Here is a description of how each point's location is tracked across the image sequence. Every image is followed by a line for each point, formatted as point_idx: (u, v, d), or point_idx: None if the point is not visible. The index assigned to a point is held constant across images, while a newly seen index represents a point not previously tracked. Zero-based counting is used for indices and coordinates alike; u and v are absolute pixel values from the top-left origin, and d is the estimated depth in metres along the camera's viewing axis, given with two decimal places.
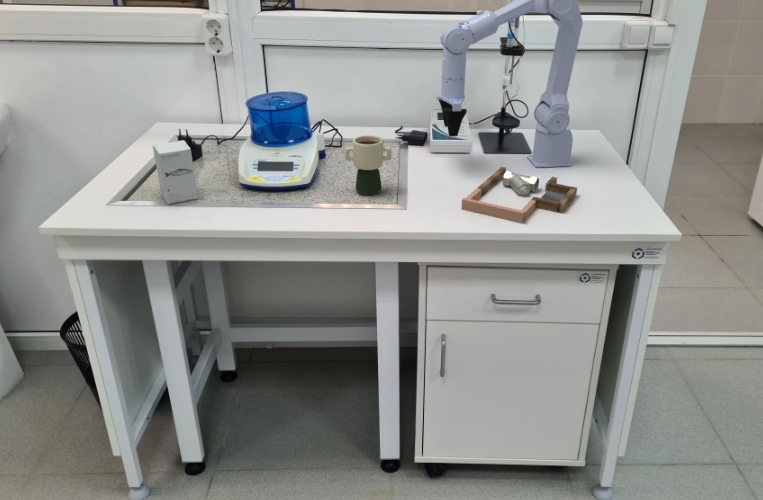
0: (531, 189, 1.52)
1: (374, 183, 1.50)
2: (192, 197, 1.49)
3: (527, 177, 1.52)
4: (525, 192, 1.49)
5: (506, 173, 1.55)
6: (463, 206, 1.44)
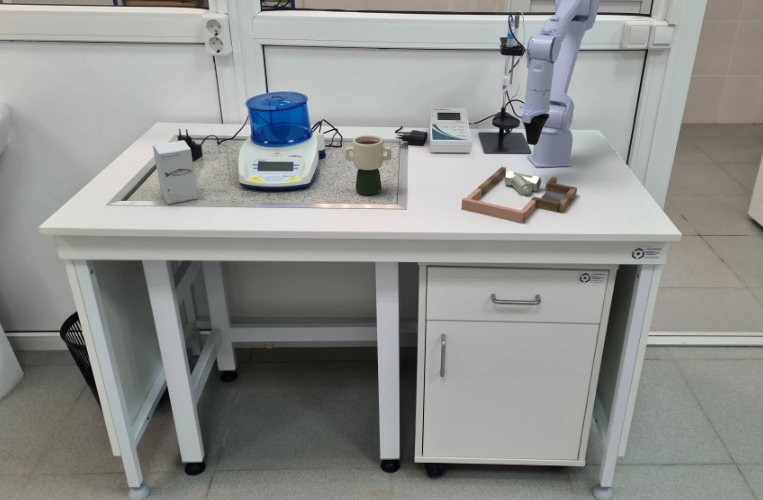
0: (533, 189, 1.52)
1: (374, 183, 1.50)
2: (192, 197, 1.49)
3: (529, 177, 1.53)
4: (527, 191, 1.50)
5: (508, 172, 1.55)
6: (463, 206, 1.44)
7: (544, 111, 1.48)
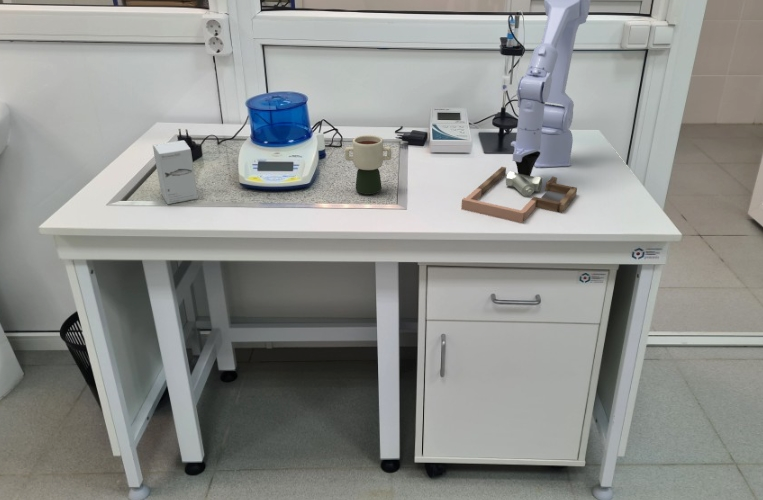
0: (535, 189, 1.51)
1: (374, 183, 1.50)
2: (192, 197, 1.49)
3: (530, 177, 1.52)
4: (530, 192, 1.49)
5: (509, 173, 1.54)
6: (463, 206, 1.44)
7: (535, 150, 1.50)
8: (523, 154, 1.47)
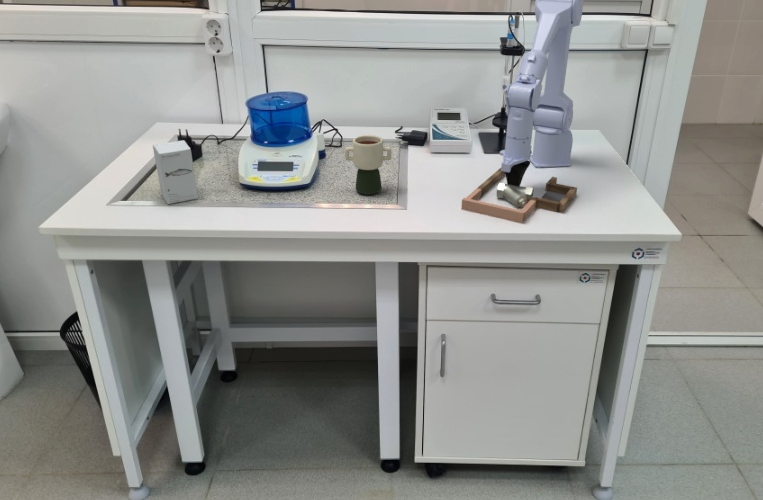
0: (528, 200, 1.46)
1: (374, 183, 1.50)
2: (192, 197, 1.49)
3: (522, 188, 1.47)
4: (524, 204, 1.43)
5: (499, 185, 1.48)
6: (463, 206, 1.44)
7: (524, 159, 1.44)
8: (512, 164, 1.42)
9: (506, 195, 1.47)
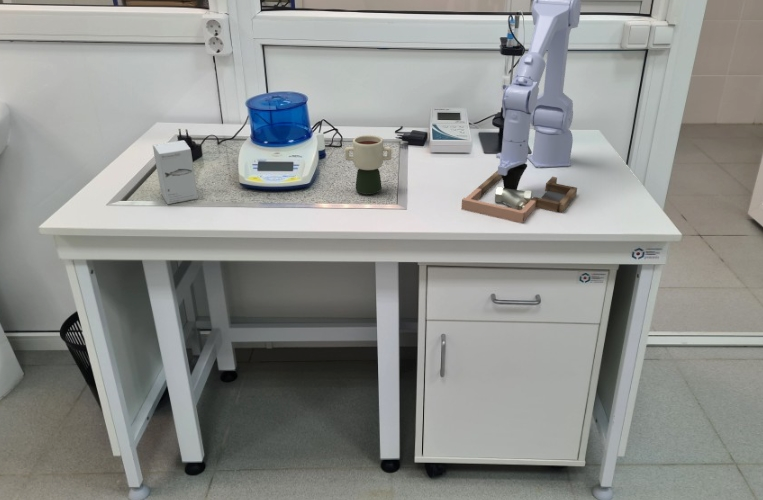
0: None
1: (374, 183, 1.50)
2: (192, 197, 1.49)
3: (521, 191, 1.45)
4: None
5: (497, 189, 1.46)
6: (463, 206, 1.44)
7: (521, 162, 1.43)
8: (508, 167, 1.40)
9: (505, 199, 1.45)
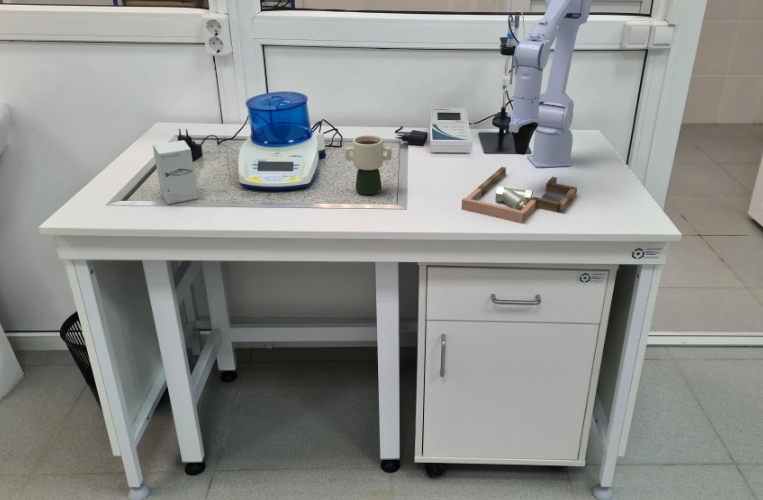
0: None
1: (374, 183, 1.50)
2: (192, 197, 1.49)
3: (521, 191, 1.45)
4: None
5: (498, 188, 1.46)
6: (463, 206, 1.44)
7: (532, 120, 1.43)
8: (520, 124, 1.40)
9: (505, 199, 1.45)
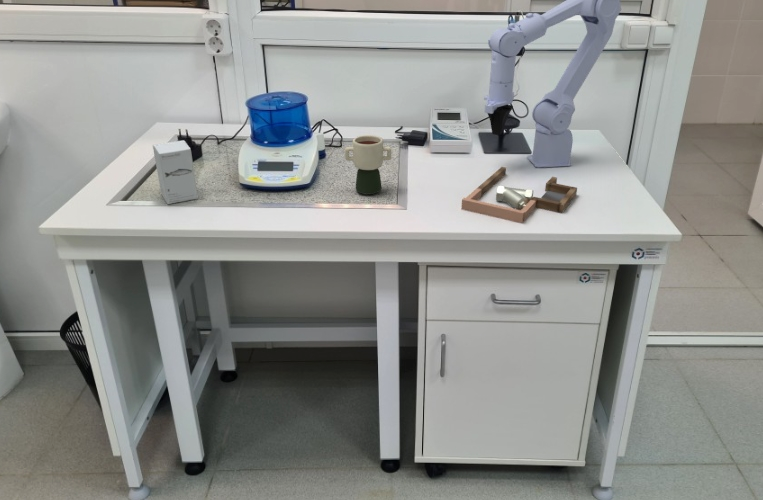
0: None
1: (374, 183, 1.50)
2: (192, 197, 1.49)
3: (522, 190, 1.45)
4: None
5: (499, 188, 1.47)
6: (463, 206, 1.44)
7: (507, 102, 1.55)
8: (495, 106, 1.52)
9: (506, 198, 1.45)
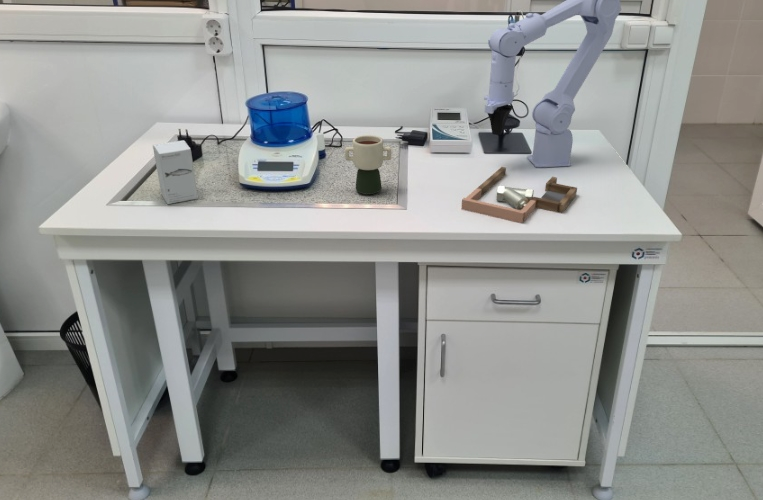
0: None
1: (374, 183, 1.50)
2: (192, 197, 1.49)
3: (522, 190, 1.46)
4: None
5: (499, 187, 1.47)
6: (463, 206, 1.44)
7: (507, 102, 1.55)
8: (495, 106, 1.52)
9: (506, 198, 1.46)
